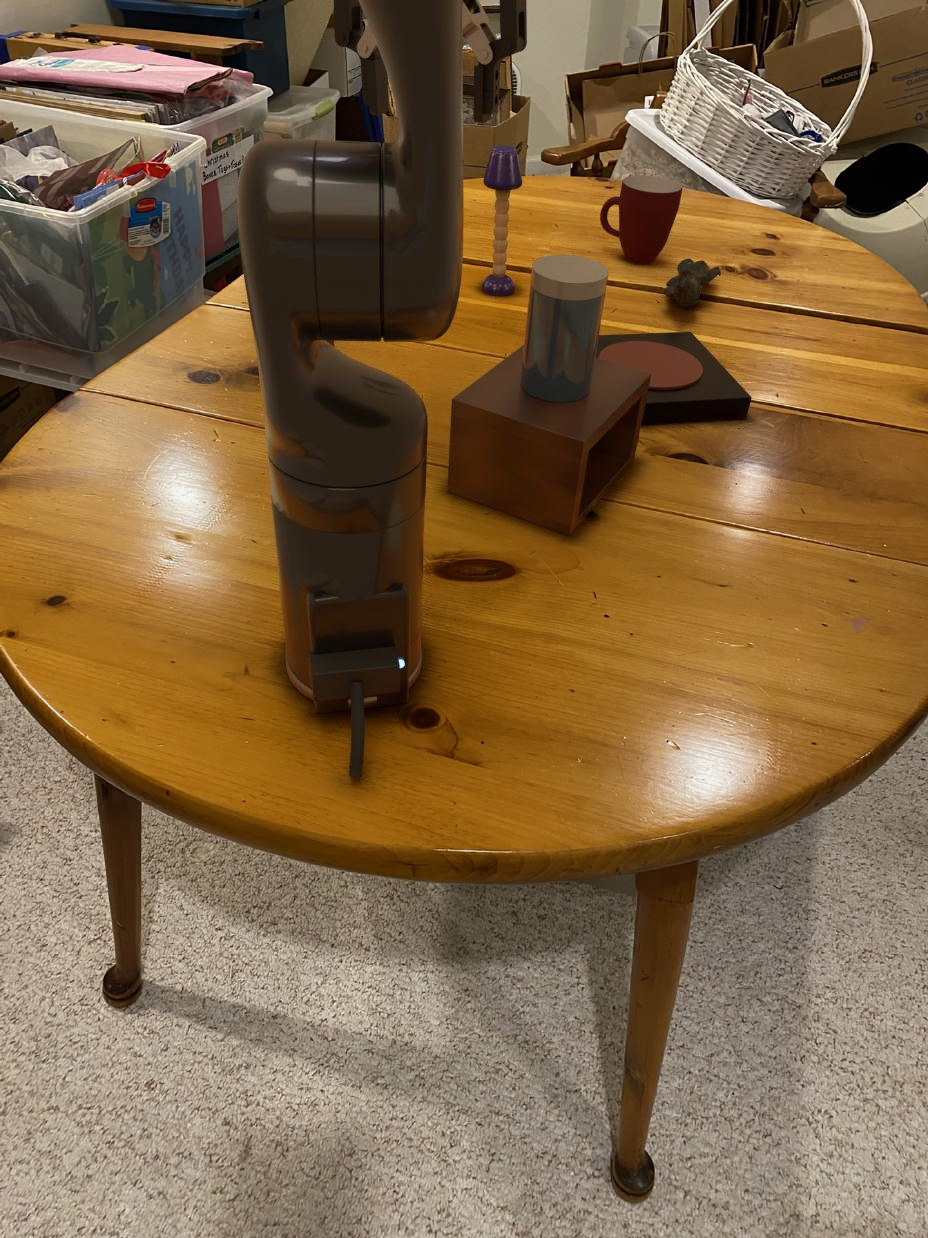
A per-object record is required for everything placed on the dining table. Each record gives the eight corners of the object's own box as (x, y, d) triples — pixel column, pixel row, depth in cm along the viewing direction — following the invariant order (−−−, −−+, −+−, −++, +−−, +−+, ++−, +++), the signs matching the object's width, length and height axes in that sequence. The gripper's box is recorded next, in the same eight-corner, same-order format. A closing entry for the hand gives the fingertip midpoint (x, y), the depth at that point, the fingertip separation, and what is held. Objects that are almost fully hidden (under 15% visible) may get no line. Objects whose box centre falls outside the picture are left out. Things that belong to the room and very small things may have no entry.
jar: (599, 400, 77) (619, 281, 70) (530, 404, 76) (543, 283, 69) (578, 368, 81) (594, 253, 75) (512, 371, 80) (523, 255, 74)
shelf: (633, 461, 87) (651, 373, 81) (569, 536, 78) (584, 441, 72) (521, 425, 91) (530, 338, 86) (446, 491, 82) (451, 398, 76)
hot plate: (745, 419, 95) (752, 394, 93) (598, 428, 92) (603, 402, 90) (686, 351, 107) (691, 328, 105) (553, 357, 104) (556, 333, 102)
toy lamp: (493, 299, 115) (503, 155, 104) (469, 287, 118) (477, 145, 107) (521, 291, 118) (534, 149, 107) (497, 279, 120) (508, 140, 110)
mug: (587, 260, 128) (597, 183, 121) (600, 242, 134) (611, 168, 127) (662, 273, 125) (677, 196, 119) (672, 255, 131) (687, 180, 125)
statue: (672, 294, 127) (656, 319, 110) (675, 251, 125) (658, 270, 108) (720, 293, 125) (711, 319, 108) (723, 250, 123) (714, 270, 106)
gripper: (302, -161, 60) (324, 119, 70) (511, -166, 56) (503, 132, 66) (352, -155, 66) (366, 104, 75) (545, -158, 62) (533, 115, 72)
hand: (430, 116), depth 71 cm, fingers open, 8 cm apart
